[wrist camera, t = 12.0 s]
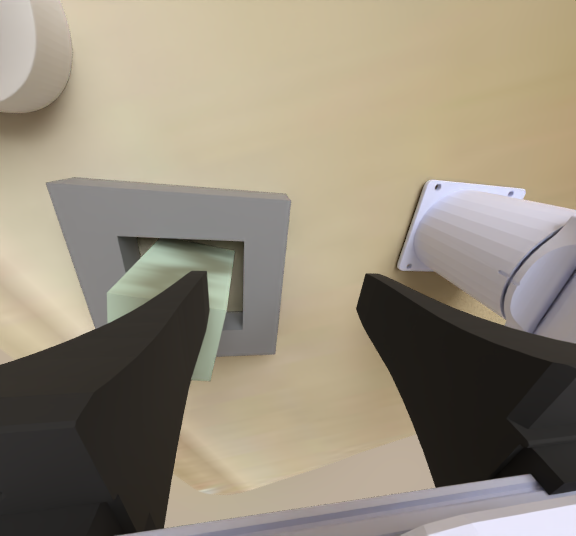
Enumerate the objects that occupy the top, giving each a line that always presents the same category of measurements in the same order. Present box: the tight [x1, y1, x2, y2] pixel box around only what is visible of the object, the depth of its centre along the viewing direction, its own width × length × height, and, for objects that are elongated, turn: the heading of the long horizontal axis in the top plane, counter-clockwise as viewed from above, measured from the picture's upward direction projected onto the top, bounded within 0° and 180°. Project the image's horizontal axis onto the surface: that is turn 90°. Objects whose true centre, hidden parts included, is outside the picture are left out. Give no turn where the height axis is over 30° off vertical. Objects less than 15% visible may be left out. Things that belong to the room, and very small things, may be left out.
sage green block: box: [107, 238, 235, 381], centre depth 16 cm, size 6×6×8 cm
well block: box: [46, 177, 291, 357], centre depth 19 cm, size 14×14×2 cm
